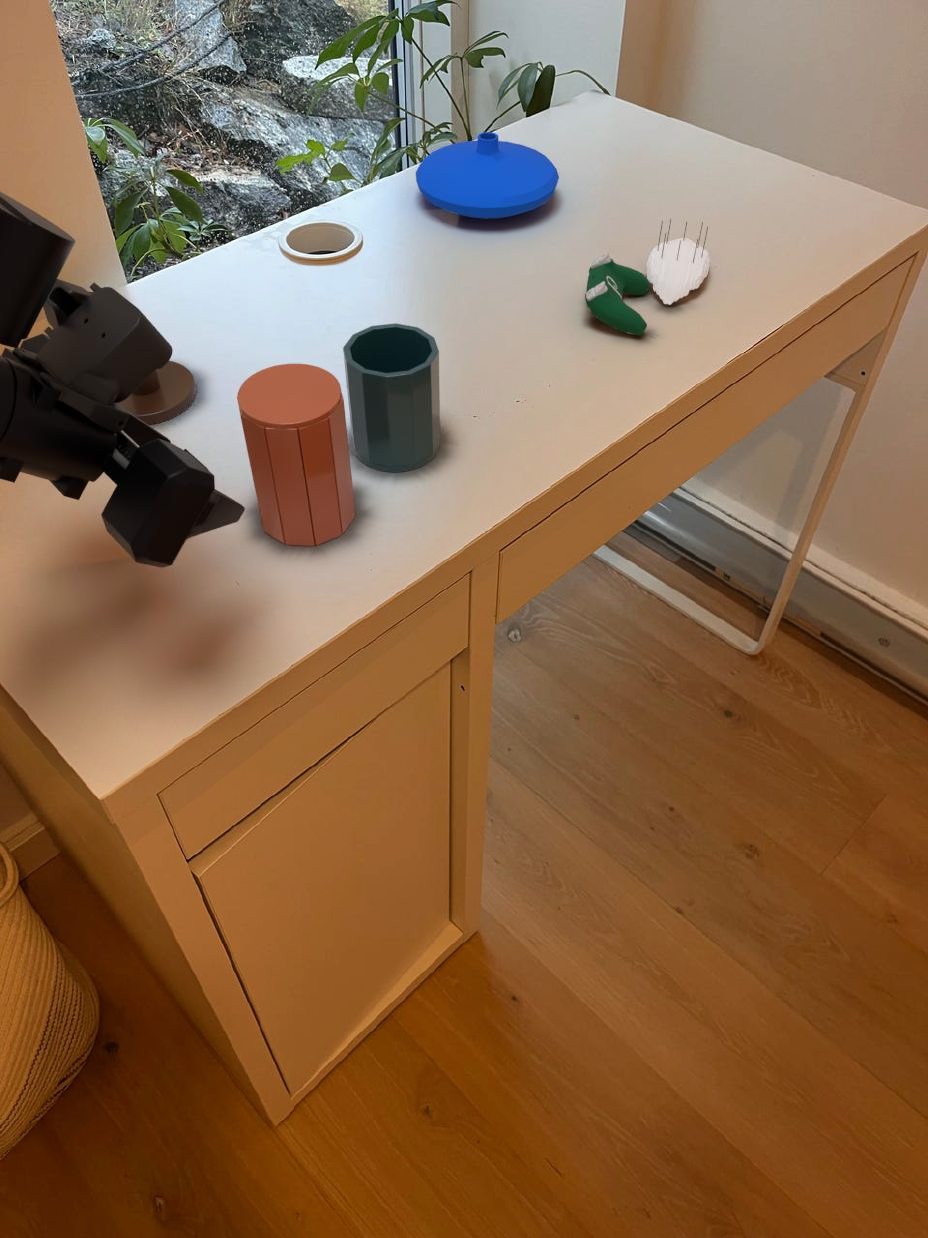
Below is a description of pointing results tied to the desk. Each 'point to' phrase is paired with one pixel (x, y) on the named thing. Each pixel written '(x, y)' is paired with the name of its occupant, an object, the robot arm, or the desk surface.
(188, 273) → the desk surface
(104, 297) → the robot arm
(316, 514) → the fluted orange cylinder
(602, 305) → the green christmas stockings
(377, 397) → the teal cup
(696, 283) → the pincushion
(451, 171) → the vase
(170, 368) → the towel holder
